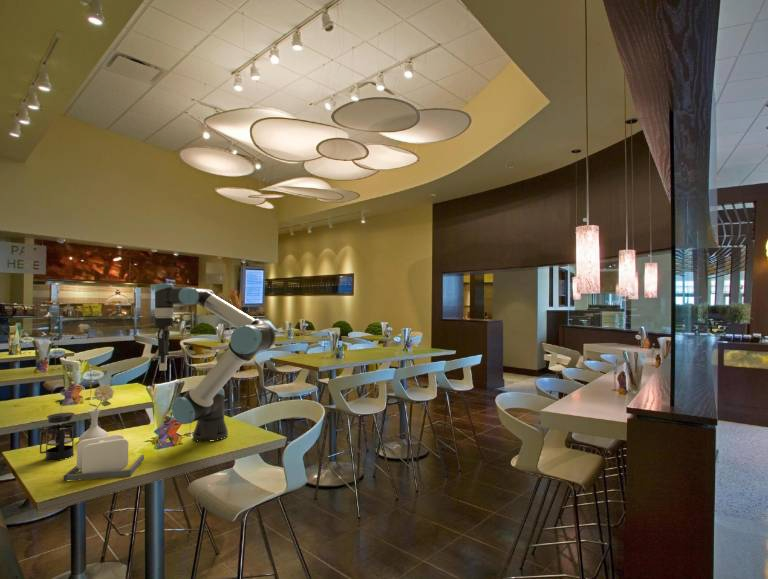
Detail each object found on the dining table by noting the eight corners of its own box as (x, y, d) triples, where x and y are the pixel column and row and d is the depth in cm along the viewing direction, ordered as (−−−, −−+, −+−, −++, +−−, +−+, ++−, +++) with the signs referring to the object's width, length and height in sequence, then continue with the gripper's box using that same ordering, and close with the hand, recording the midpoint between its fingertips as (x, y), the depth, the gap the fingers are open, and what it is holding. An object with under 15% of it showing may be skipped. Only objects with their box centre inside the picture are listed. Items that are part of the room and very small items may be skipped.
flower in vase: (77, 446, 192) (79, 388, 193) (79, 439, 202) (81, 384, 203) (112, 441, 198) (113, 385, 199) (113, 435, 208) (114, 382, 209)
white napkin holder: (79, 480, 154) (80, 446, 154) (76, 471, 162) (77, 439, 163) (127, 470, 164) (128, 438, 164) (122, 462, 172) (123, 432, 172)
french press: (73, 451, 185) (75, 396, 186) (77, 456, 178) (79, 399, 179) (38, 457, 177) (40, 400, 178) (41, 464, 170) (42, 403, 171)
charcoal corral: (143, 460, 174) (144, 454, 174) (130, 475, 158) (130, 470, 158) (83, 464, 169) (83, 459, 169) (63, 481, 153) (63, 475, 153)
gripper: (158, 317, 203) (157, 368, 202) (151, 318, 191) (149, 372, 190) (175, 317, 205) (175, 368, 204) (169, 317, 193) (168, 371, 192)
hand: (162, 370), depth 197 cm, fingers closed
